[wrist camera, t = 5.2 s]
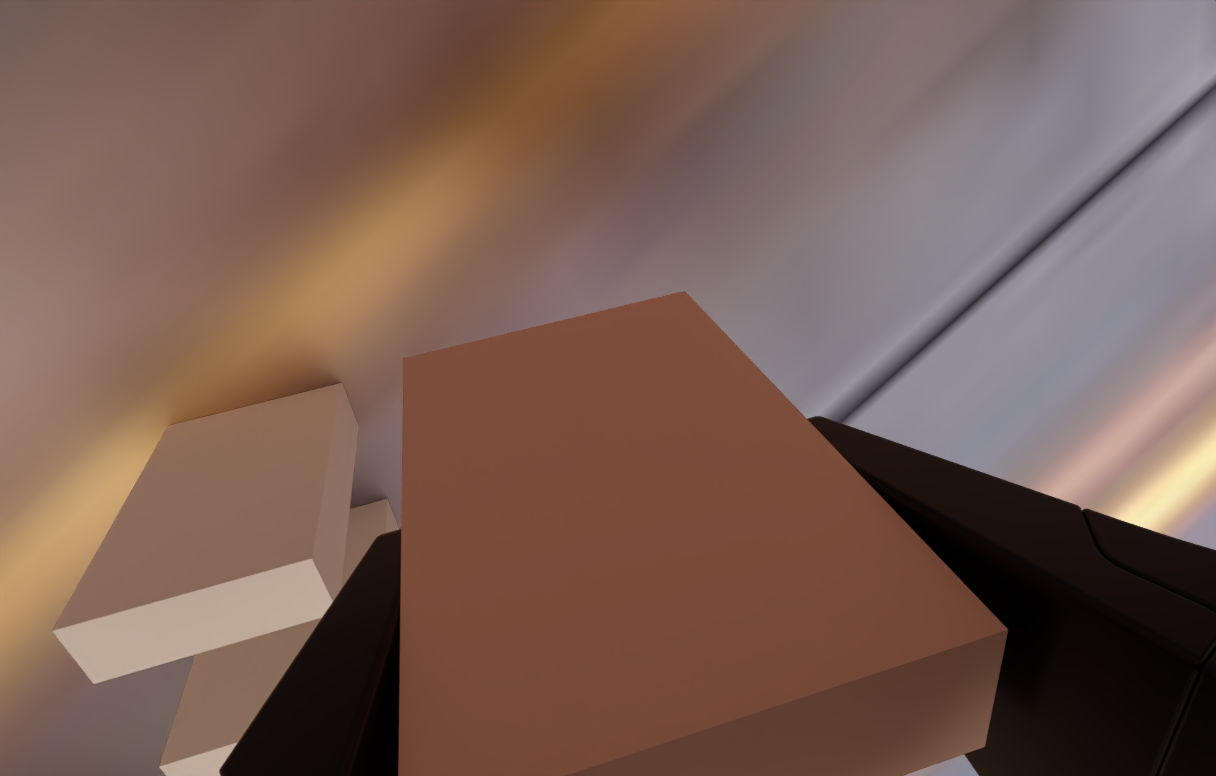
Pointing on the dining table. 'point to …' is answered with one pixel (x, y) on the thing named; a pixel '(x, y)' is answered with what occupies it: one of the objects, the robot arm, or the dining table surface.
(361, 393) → the dining table surface
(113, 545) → the domino
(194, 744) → the domino
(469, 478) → the domino
